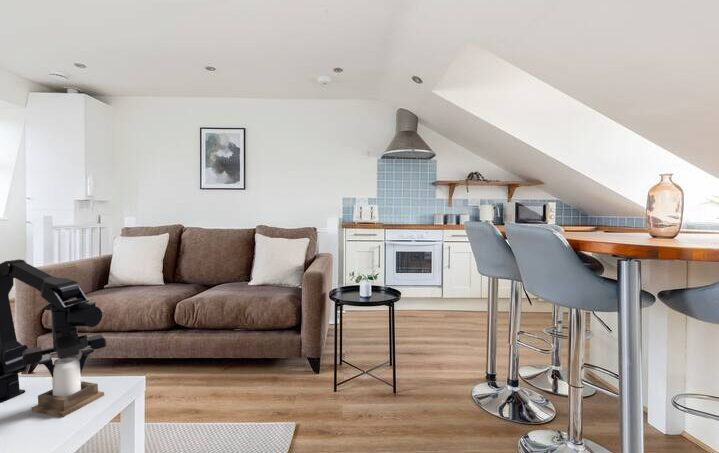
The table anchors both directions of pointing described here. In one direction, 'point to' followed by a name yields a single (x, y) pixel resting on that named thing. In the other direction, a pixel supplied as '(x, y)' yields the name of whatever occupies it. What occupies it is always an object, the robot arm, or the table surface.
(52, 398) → the socket
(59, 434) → the table surface
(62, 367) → the can
